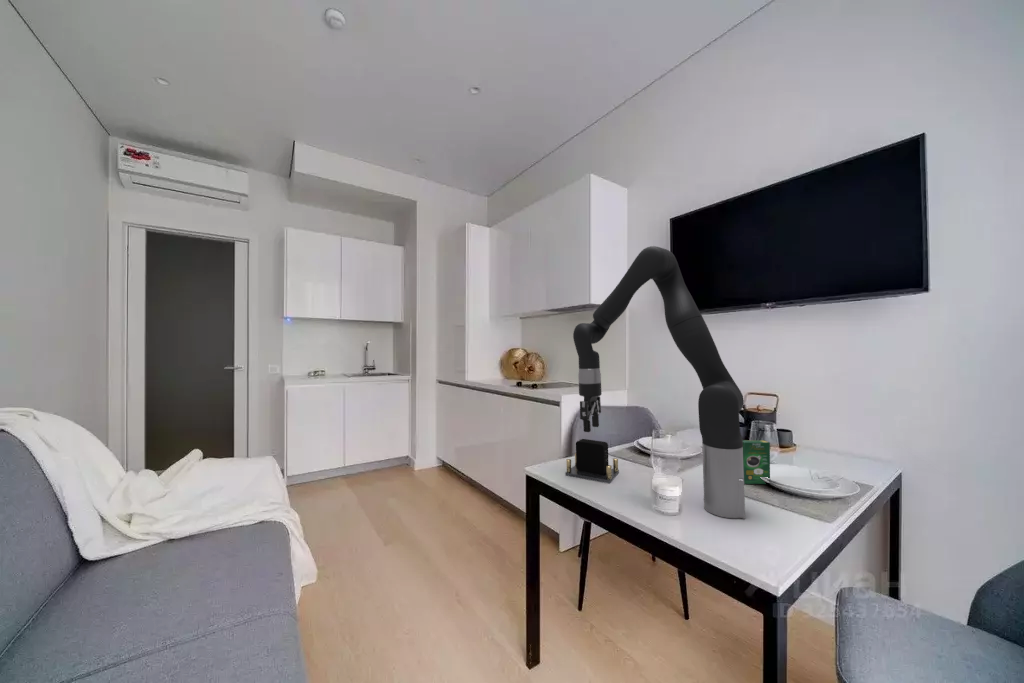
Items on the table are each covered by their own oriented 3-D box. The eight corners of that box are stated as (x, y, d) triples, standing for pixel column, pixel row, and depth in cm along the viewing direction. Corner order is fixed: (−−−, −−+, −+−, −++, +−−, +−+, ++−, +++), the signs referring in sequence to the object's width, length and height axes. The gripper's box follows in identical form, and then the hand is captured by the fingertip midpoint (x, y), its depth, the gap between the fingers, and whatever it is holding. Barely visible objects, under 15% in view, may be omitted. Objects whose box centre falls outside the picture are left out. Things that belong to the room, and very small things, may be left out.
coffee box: (765, 481, 115) (764, 439, 115) (771, 484, 112) (770, 441, 112) (739, 481, 115) (738, 439, 115) (744, 484, 112) (743, 441, 112)
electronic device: (604, 475, 120) (603, 445, 120) (576, 470, 126) (575, 441, 126) (608, 471, 123) (608, 442, 123) (581, 466, 129) (580, 438, 129)
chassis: (619, 472, 125) (619, 458, 125) (610, 483, 116) (609, 467, 116) (576, 465, 133) (576, 452, 133) (565, 475, 124) (564, 460, 124)
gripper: (593, 384, 117) (595, 434, 116) (606, 379, 129) (608, 426, 129) (571, 383, 121) (573, 432, 120) (586, 379, 133) (588, 424, 133)
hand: (591, 429), depth 124 cm, fingers open, 8 cm apart
